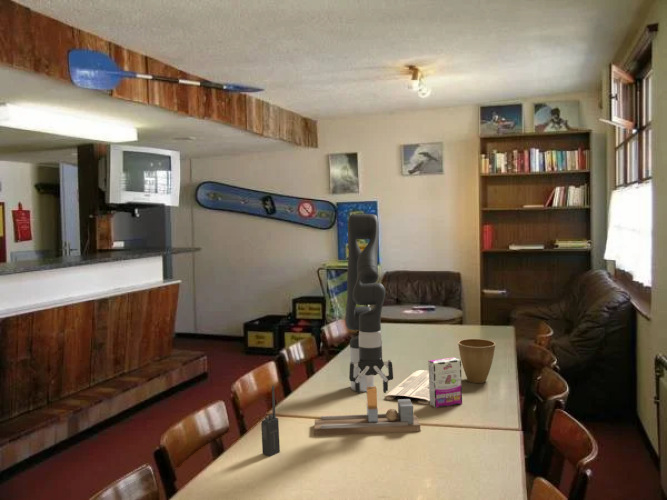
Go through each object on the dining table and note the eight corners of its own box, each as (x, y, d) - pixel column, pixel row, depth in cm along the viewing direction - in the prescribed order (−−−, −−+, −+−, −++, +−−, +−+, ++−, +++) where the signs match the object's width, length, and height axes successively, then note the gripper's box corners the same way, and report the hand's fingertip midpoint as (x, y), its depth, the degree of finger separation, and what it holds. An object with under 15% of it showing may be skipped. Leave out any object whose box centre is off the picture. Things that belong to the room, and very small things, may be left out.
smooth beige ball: (385, 419, 191) (385, 407, 191) (397, 418, 191) (397, 406, 191) (386, 423, 187) (386, 411, 187) (399, 422, 187) (398, 410, 187)
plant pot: (454, 383, 235) (453, 344, 234) (464, 374, 248) (463, 337, 247) (491, 387, 228) (490, 347, 227) (499, 377, 241) (498, 340, 241)
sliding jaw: (367, 417, 192) (366, 385, 192) (375, 417, 192) (375, 384, 192) (368, 424, 186) (367, 391, 185) (378, 424, 186) (377, 390, 185)
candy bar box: (455, 400, 215) (454, 356, 214) (462, 404, 210) (461, 359, 209) (428, 404, 211) (427, 359, 210) (435, 408, 206) (434, 363, 205)
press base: (314, 425, 193) (314, 401, 193) (415, 421, 194) (415, 397, 194) (314, 435, 184) (313, 410, 184) (420, 431, 185) (419, 406, 185)
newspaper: (429, 406, 210) (429, 398, 210) (380, 400, 219) (380, 392, 219) (455, 379, 243) (454, 372, 243) (411, 374, 252) (411, 368, 252)
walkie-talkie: (272, 449, 174) (270, 384, 173) (280, 451, 172) (278, 385, 171) (261, 454, 171) (258, 388, 170) (269, 457, 169) (266, 389, 167)
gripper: (390, 340, 191) (391, 388, 193) (347, 342, 191) (349, 390, 192) (393, 346, 184) (394, 395, 185) (349, 347, 184) (350, 397, 185)
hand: (371, 392), depth 189 cm, fingers open, 8 cm apart
